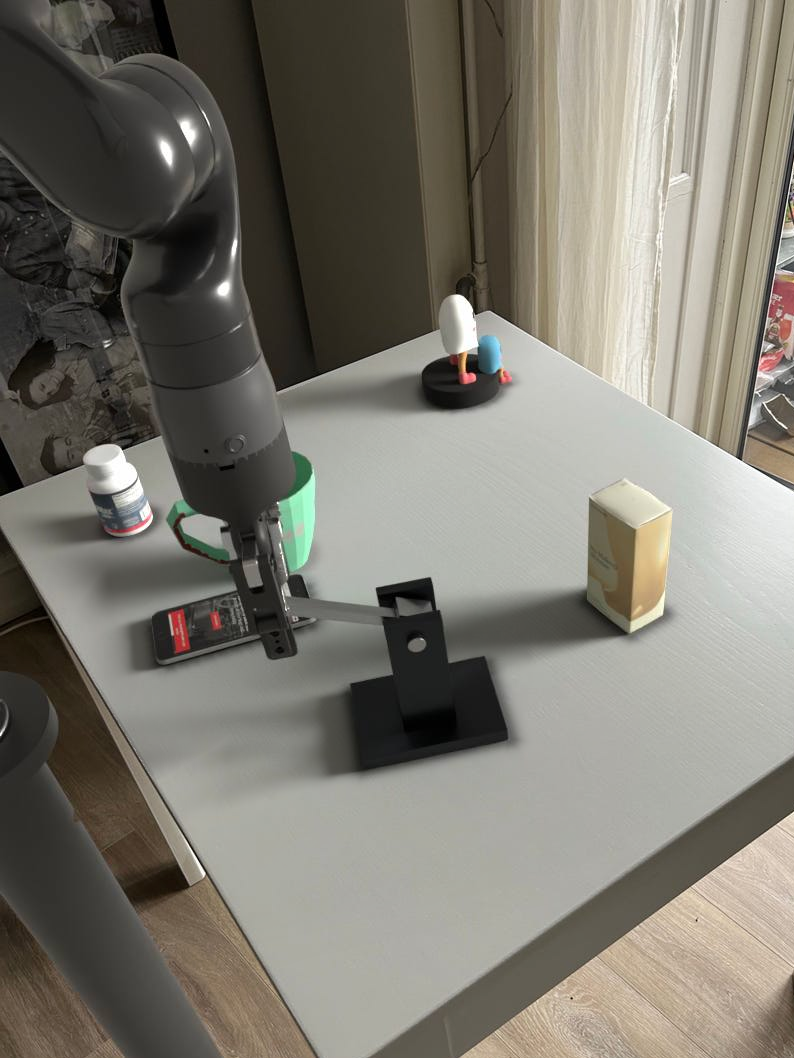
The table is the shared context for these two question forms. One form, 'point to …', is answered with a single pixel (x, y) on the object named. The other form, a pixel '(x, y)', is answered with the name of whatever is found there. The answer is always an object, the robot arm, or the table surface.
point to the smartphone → (211, 624)
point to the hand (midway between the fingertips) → (279, 617)
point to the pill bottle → (116, 491)
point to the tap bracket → (423, 691)
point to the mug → (293, 513)
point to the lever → (355, 610)
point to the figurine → (463, 361)
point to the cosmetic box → (627, 554)
